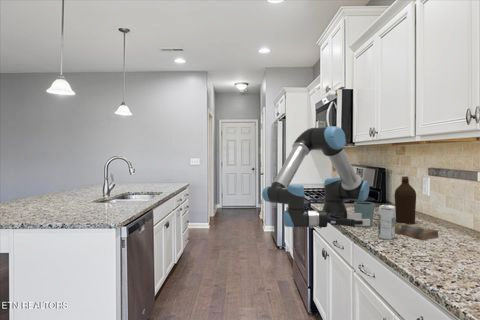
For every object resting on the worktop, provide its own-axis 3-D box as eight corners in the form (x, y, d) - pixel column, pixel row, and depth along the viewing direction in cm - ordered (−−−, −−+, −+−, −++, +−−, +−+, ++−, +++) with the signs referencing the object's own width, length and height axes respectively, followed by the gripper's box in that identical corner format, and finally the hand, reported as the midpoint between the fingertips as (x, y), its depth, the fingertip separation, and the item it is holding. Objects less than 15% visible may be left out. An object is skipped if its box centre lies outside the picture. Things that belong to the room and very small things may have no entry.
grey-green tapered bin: (356, 222, 182) (356, 200, 182) (376, 224, 177) (376, 202, 176) (352, 226, 173) (352, 203, 173) (372, 228, 168) (372, 204, 168)
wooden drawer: (388, 231, 161) (388, 221, 161) (403, 229, 166) (403, 219, 166) (422, 240, 145) (422, 229, 145) (438, 237, 149) (438, 226, 149)
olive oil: (413, 225, 173) (413, 177, 173) (391, 222, 180) (391, 176, 180) (418, 222, 181) (418, 176, 181) (398, 219, 188) (398, 175, 188)
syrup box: (382, 235, 154) (381, 204, 154) (395, 237, 150) (395, 205, 150) (378, 238, 149) (377, 206, 149) (392, 240, 146) (391, 207, 145)
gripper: (314, 221, 165) (358, 221, 163) (322, 233, 140) (374, 234, 138) (314, 206, 165) (358, 206, 163) (321, 216, 140) (374, 216, 138)
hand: (365, 219), depth 150 cm, fingers open, 13 cm apart
